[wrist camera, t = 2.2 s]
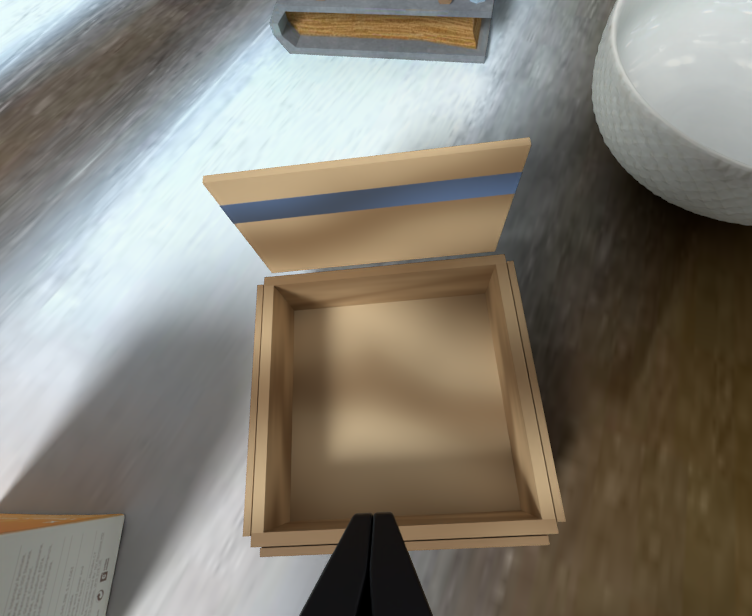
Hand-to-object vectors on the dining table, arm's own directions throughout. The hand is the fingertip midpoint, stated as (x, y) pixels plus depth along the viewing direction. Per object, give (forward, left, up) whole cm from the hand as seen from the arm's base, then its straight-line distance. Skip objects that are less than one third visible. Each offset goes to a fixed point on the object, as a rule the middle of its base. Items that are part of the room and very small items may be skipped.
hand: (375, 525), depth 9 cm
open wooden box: (+3, -3, -12) cm, 13 cm away
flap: (+7, -7, -4) cm, 11 cm away
